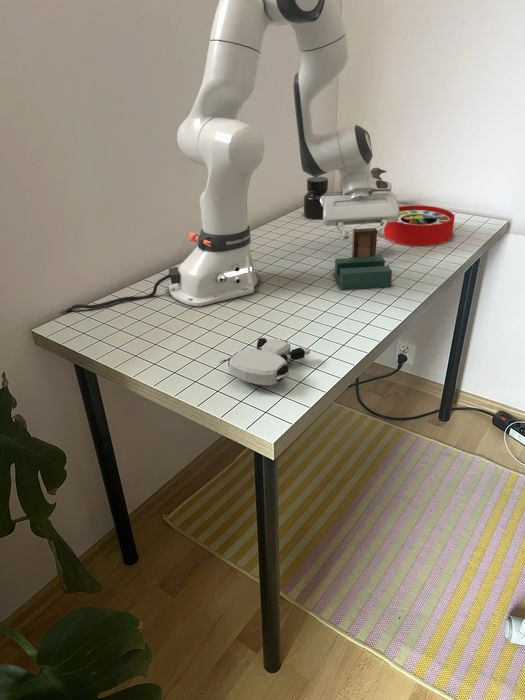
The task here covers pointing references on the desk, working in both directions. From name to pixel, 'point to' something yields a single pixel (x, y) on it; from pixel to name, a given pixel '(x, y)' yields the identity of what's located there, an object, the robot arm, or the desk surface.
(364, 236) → the frame
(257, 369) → the robot toy
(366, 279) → the holder
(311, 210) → the ink bottle
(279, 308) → the desk surface
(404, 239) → the toy clock
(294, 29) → the robot arm
